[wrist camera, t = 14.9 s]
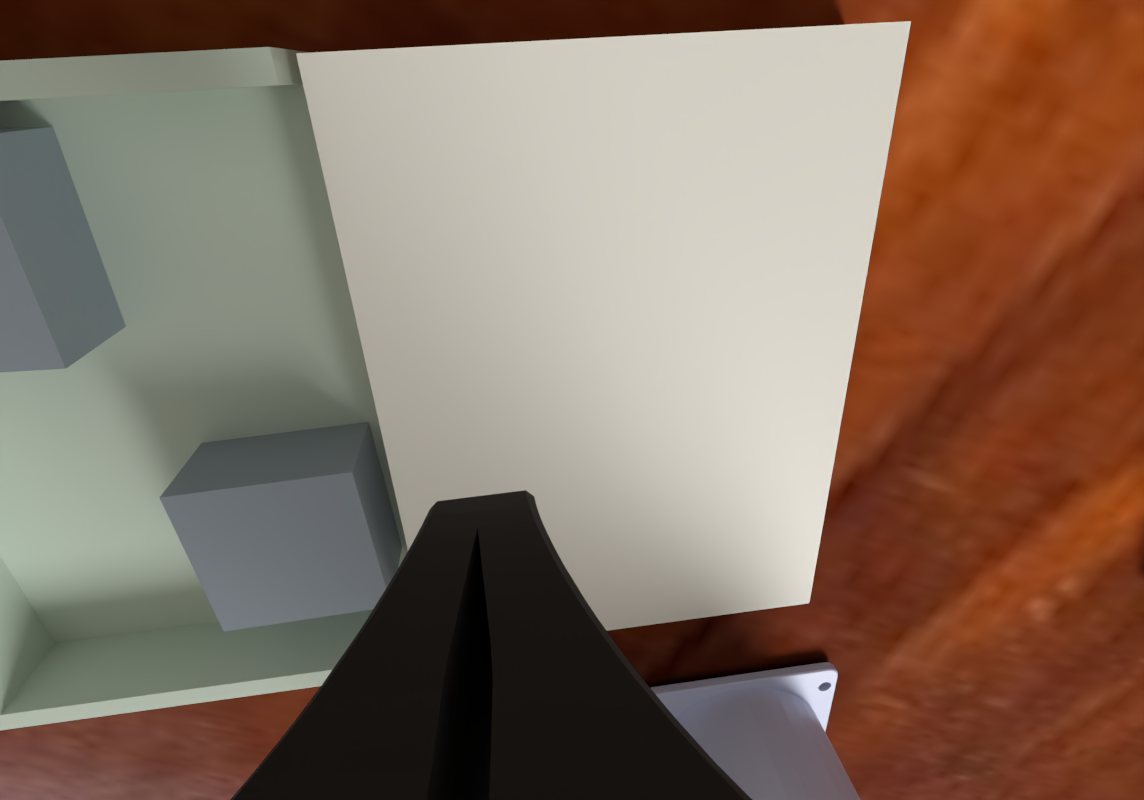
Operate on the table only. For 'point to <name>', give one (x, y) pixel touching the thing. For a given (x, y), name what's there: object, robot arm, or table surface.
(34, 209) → the tile outer
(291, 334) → the box
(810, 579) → the board
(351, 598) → the squat square grey block
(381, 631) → the robot arm
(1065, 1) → the table surface
